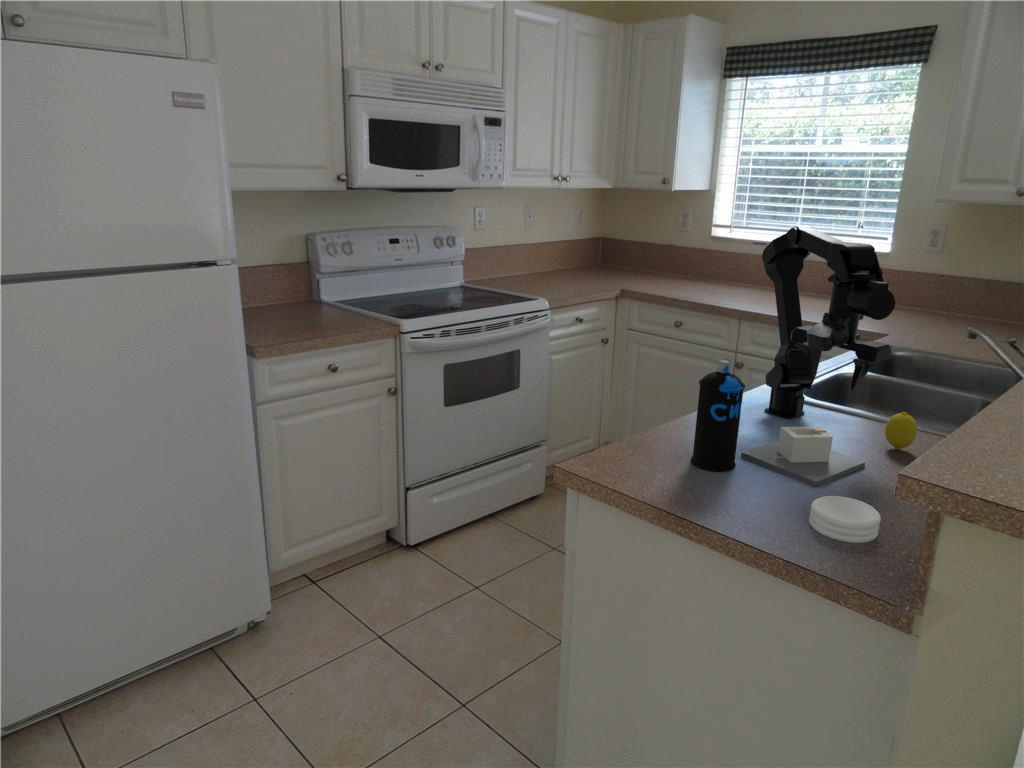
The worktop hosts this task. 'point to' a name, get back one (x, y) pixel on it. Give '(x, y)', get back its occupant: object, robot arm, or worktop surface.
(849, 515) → the white round flat disc
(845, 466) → the grey peg base plate
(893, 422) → the lemon
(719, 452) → the aerosol can
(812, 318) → the worktop surface
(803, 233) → the robot arm
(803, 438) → the square tube sleeve
